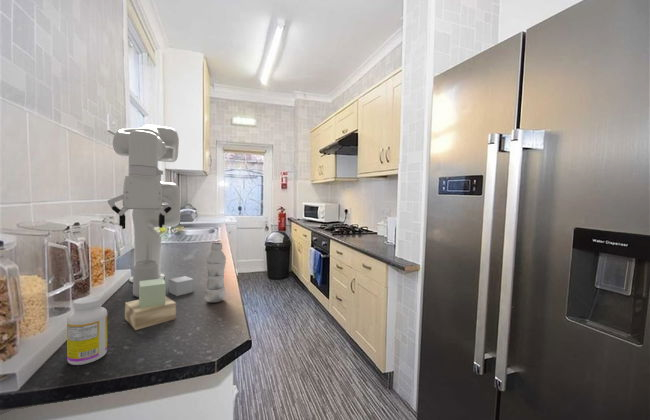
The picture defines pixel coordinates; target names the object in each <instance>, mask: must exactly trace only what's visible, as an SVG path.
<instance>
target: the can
mask: <svg viewBox="0 0 650 420" xmlns="http://www.w3.org/2000/svg"><path fill="white" fill-rule="evenodd" d="M132 270H133V271H132V276H133V282H132V294H133V296H135V298H139V281H145V280H154V279H158V265H157V264H156V261H154V260H144V261H138V262H136V265H135V266H134V265H133V267H132Z"/></svg>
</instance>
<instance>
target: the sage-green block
mask: <svg viewBox="0 0 650 420" xmlns="http://www.w3.org/2000/svg"><path fill="white" fill-rule="evenodd" d="M166 286H167V284H166V280H164V278H162V279H154V280H145V281H139V297H138V300H139V304H140V308H146V307H152V306H158V305H164V304H165V296H166ZM166 297H167V296H166Z"/></svg>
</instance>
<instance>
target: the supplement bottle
mask: <svg viewBox="0 0 650 420" xmlns="http://www.w3.org/2000/svg"><path fill="white" fill-rule="evenodd" d="M102 303H103V297H102V296H100V295H90V296H85V297H79V298H77V299H75V300H73V305H72V308H73V309H74V311H72V312H71V313H70V314H69V315H68V317H67V319H66V324H67V325H66V329H67V330H66V341H67V342H66V349H67V350H66V352H67V354H66V357H67V358H66V359H67V362H68V364H70V365H72V366H81V365H86V364H90V363H93V362H96V361H97V360H99V359H101V358H102V357H104V356H105V355H106V354H107V352H108V311H107V309H106V308H105V307H103V306H101V305H102Z"/></svg>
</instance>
